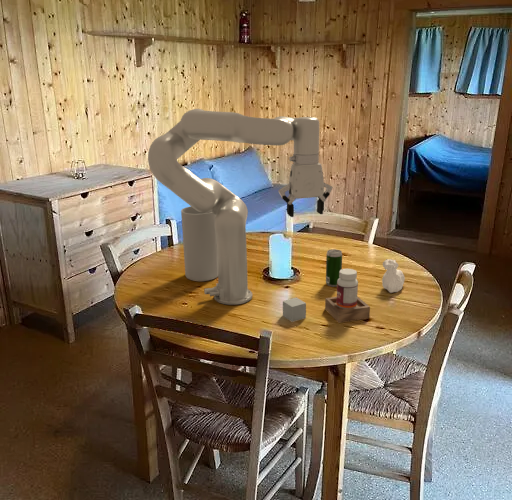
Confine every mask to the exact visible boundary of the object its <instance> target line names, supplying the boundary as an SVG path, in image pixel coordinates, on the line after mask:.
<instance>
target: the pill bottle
mask: <svg viewBox="0 0 512 500" xmlns="http://www.w3.org/2000/svg"><path fill="white" fill-rule="evenodd" d="M357 276H358V273H357V270H356V269H353V268H342V269H341V270H340V272H339V277H340V278H339V279H338V281H337V287H336V297H337V301H336V304H337V306H338V307H339V308H341V309H348V308H355V307H356V306H357V296H358V291H359V289H358V287H359V280H358V279H357V278H358V277H357Z"/></svg>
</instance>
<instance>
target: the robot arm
mask: <svg viewBox="0 0 512 500" xmlns="http://www.w3.org/2000/svg"><path fill="white" fill-rule="evenodd" d="M200 140H202V141H203V140H204V141H220V142H233V143H239V144H240V143H241V144H251V145H262V146H284V145H287V144H288V143H290V141H293V153H292V156H289V157H288V160H289V162H292V164H291V166H290V170H289V176H288V177H289V179H288V184H285V186H283V187H281V188H280V189H278V191H277V192H278V193H279V195H280V196H281V199H282V200H283V201H284V202H285V203H286V213H287V215H288V216H289V217H290V218H294V217H295V216H294V215H295V214H294V212H295V209H294V208H295V207H294V204H293V203H294V201H295V200H297V199H310V198H311V199H313V198H317V201H316V212H317V214H320V215H323V214H324V211H325V202H326V201H327V199H328V197H329V196H330V194H331V192H332V190H333V186H332V185H330V184H328V183H326V182H324V172H323V166H322V163H320V162H319V161H320V160H319V159H320V158H319V157H320V154H319V153H320V120H319V119H318V117H313V116H302V117H301V116H300V117H289V116H284V115H283V116H281V115H280V116H279V115H278V116H276V117H274V118H266V117H265V118H264V117H255V116H248V115H244V114H241V113H239V112H235V111H234V112H233V111H216V110H215V111H214V110H213V111H212V110H204V109H202V108H193V109H190V110H188V111H186V112H184V114H183V115H182V116H181V119H180V121H178V123H176V124H175V125H174V126H172V128H170V129H169V130H168V131H166V132H165V133H164V134H163V135H160V136H158V137H156V138H155V139H154V140H153V141H152V143H151V144H150V146H149V149H148V153H147V162H148V166H149V169H150V172H151V173H152V175H153V176H154V178H155V179H156V180H157V181H158V182H159V183H160V184H162V185H163V186H164V187H166V188H167V189H168V190H169V191H171V192H172V193H173V194H174V195H176V196H177V197H178V198H179V199H181V200H182V201H183V202H185V203H186V204H187V205H189V207H193V208H194V209H195V210H196V211H198V212H201V213H207V212H210V211H211V212H212V213H214V214H215V215H216V217H215V233H216V243H217V261H218V277H217V279H218V280H217V281H218V283H217V282H216V284H215V285H216V286H213V287H207V288H204V291H203V292H204V295H209V296H210V297H214V300H215V301H216V302H217V303H219V304H222V305H229V306H235V305H237V306H238V305H241V304H245V303H247V302H250V301H251V300H252V299H253V292H252V291H251V290H250V289H249V288H248V285H249V284H248V257H247V256H248V254H247V253H248V252H247V249H248V248H247V232H246V231H247V230H246V228H247V227H246V224H247V218H248V215H249V214H248V213H249V210H248V207H247V204H246V203H245V202H244V201H243V200H242V198H240V197H239V196H237V195H236V194H235V193H233V192H232V191H231V190H230V189H228V188H227V187H225V186H224V185H223V183H220V182H219V181H217V180H215V179H213V178H210V177H203V178H200V177H199V176H198V175H196V174H194V172H192V171H191V170H190V169H188V168H186V167H185V166H183V165H181V164H180V162H179V161H178V159H180V158H181V157H182V156H183V155H184V154H185V153H186V152H188V150H190V149H191V148H192V147H194V146H195V145H196V144H197V143H198V142H199V141H200ZM286 192H288V194H289V195H288V196H287V195H286Z"/></svg>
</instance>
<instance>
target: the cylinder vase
mask: <svg viewBox="0 0 512 500" xmlns="http://www.w3.org/2000/svg"><path fill="white" fill-rule="evenodd" d="M180 213H181V230H182V245H183V246H182V247H183V257H184V272H185V277H186V279H188V280H190V281H194V282H208V281H212V280H215V279H217V278H218V261H217V243H216V233H215V217H216V215H215V214H214V213H212V212H211V211H210V212H207V213H201V212H198V211H196V210H195V209H194V208H193V207H191V206H187V207H184V208H182V209H181V211H180Z"/></svg>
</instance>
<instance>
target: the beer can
mask: <svg viewBox="0 0 512 500" xmlns="http://www.w3.org/2000/svg"><path fill="white" fill-rule="evenodd" d="M342 252H343V251H342V250H340V249H336V248H335V249H328V250H327V251H326V259H325V260H326V261H325V262H326V264H325V265H326V266H325V283H326V285H327V287H332V288H333V287H334V288H335V287H336V288H337V281H338V279H339V278H340V277H339V272H340V270H341V269H343V253H342Z"/></svg>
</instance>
